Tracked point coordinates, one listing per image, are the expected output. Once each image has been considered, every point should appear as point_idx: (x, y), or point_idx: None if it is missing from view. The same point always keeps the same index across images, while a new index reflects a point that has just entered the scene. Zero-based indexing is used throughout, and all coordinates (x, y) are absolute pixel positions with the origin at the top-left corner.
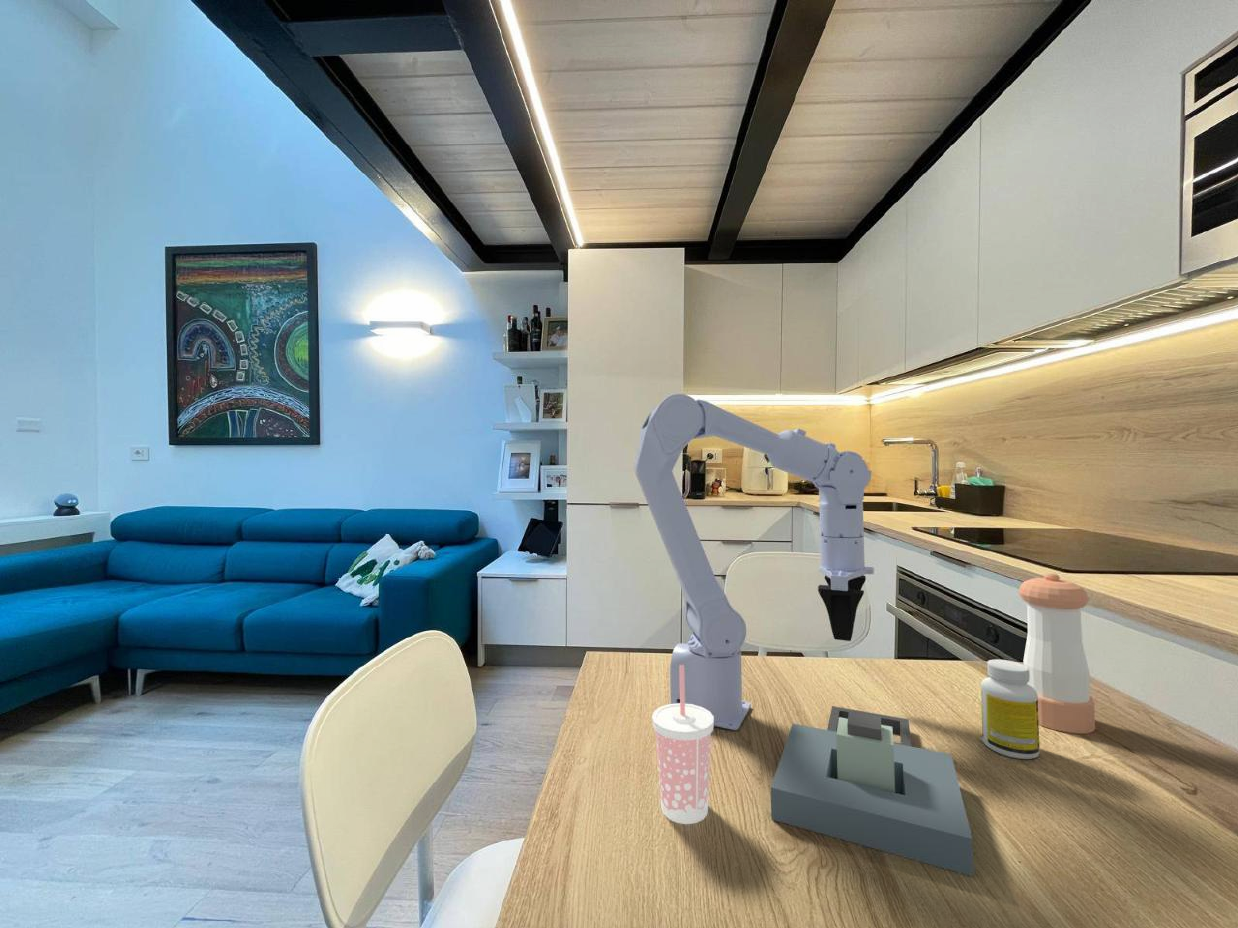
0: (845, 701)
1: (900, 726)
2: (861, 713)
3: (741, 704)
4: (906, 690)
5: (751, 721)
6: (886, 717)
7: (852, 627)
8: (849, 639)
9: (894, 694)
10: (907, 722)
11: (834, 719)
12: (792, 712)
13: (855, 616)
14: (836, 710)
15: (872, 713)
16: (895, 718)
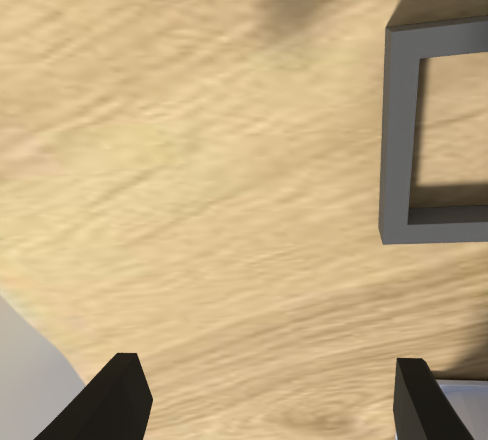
0: (254, 209)
1: (464, 53)
2: (404, 170)
3: (479, 409)
4: (58, 59)
5: (476, 365)
6: (405, 100)
7: (458, 420)
8: (428, 368)
9: (117, 91)
10: (420, 33)
11: (478, 230)
12: (389, 305)
13: (109, 385)
14: (409, 231)
15: (392, 142)
16: (401, 73)
